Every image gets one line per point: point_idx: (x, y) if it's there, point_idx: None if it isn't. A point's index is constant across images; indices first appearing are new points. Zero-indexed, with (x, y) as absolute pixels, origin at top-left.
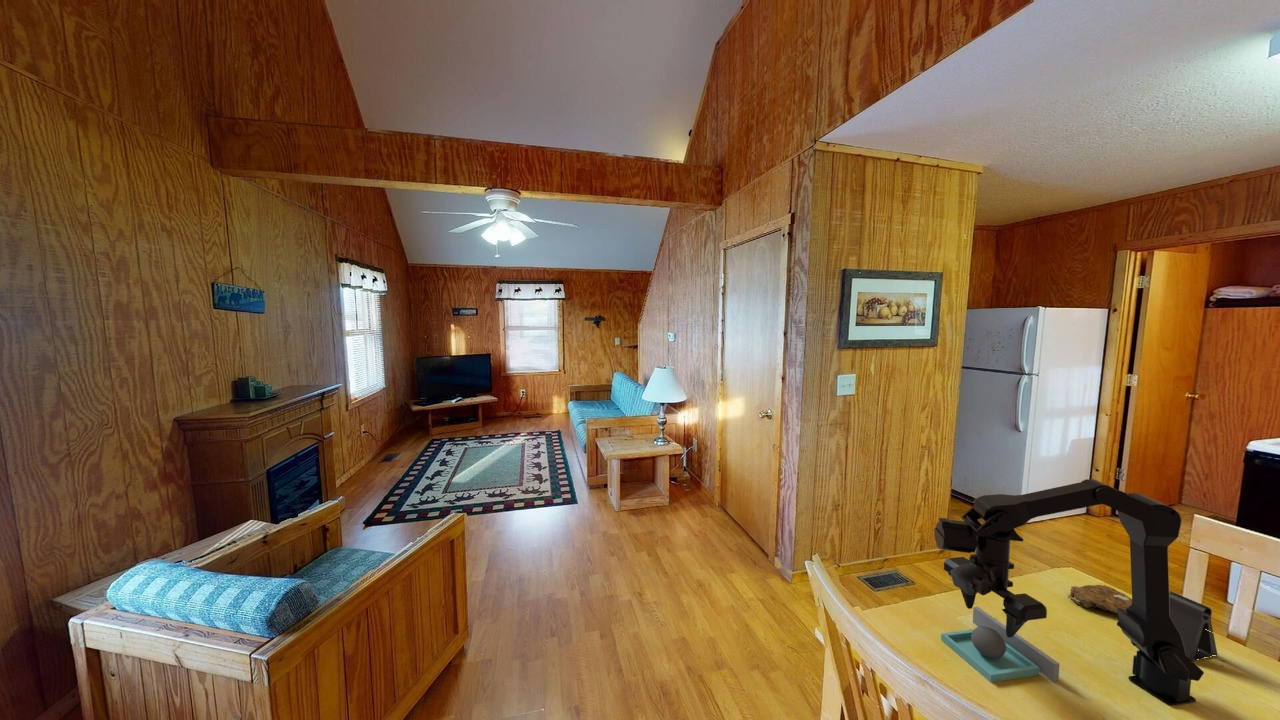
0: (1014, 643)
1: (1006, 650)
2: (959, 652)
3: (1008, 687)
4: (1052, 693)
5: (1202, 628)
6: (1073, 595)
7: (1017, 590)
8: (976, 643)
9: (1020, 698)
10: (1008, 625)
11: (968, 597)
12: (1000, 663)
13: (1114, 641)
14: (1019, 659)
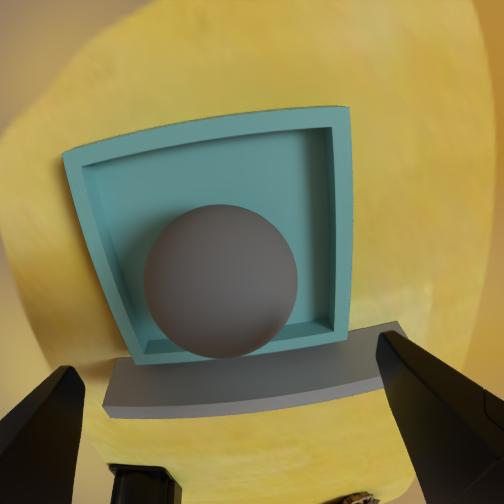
0: (241, 376)
1: None
2: (228, 115)
3: (62, 201)
4: (70, 321)
5: None
6: (367, 500)
7: None
8: (207, 208)
9: (25, 206)
10: (3, 429)
11: (424, 405)
12: None
13: (266, 495)
14: None
